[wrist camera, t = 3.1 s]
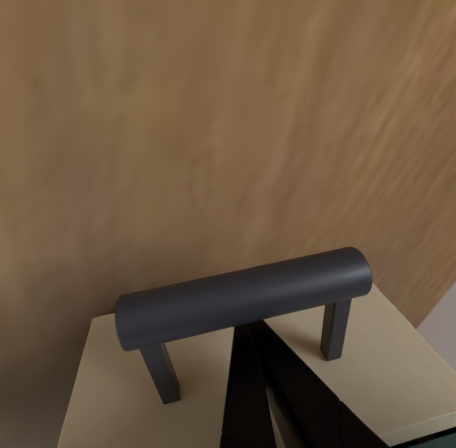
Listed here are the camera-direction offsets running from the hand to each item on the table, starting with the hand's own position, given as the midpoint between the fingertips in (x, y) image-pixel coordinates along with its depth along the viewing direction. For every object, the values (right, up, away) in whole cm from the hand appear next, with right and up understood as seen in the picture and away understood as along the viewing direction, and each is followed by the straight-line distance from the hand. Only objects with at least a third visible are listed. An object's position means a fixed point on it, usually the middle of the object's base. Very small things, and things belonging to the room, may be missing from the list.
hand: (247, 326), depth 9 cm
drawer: (0, -4, +7) cm, 8 cm away
